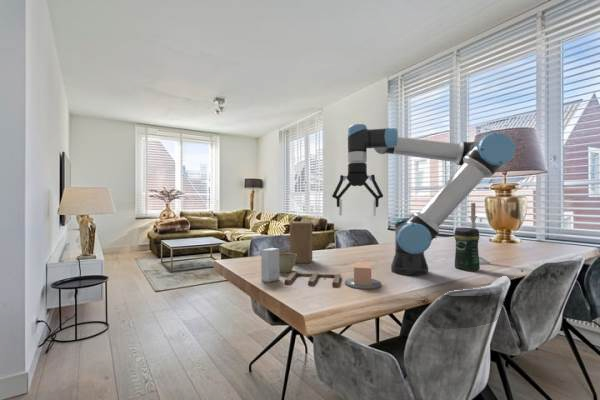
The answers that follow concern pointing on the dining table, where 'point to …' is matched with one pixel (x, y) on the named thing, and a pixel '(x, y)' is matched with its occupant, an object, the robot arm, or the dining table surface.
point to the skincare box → (269, 264)
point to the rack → (313, 278)
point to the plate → (373, 285)
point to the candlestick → (473, 225)
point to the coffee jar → (467, 249)
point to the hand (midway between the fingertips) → (357, 215)
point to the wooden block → (301, 241)
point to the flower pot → (286, 261)
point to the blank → (362, 273)
